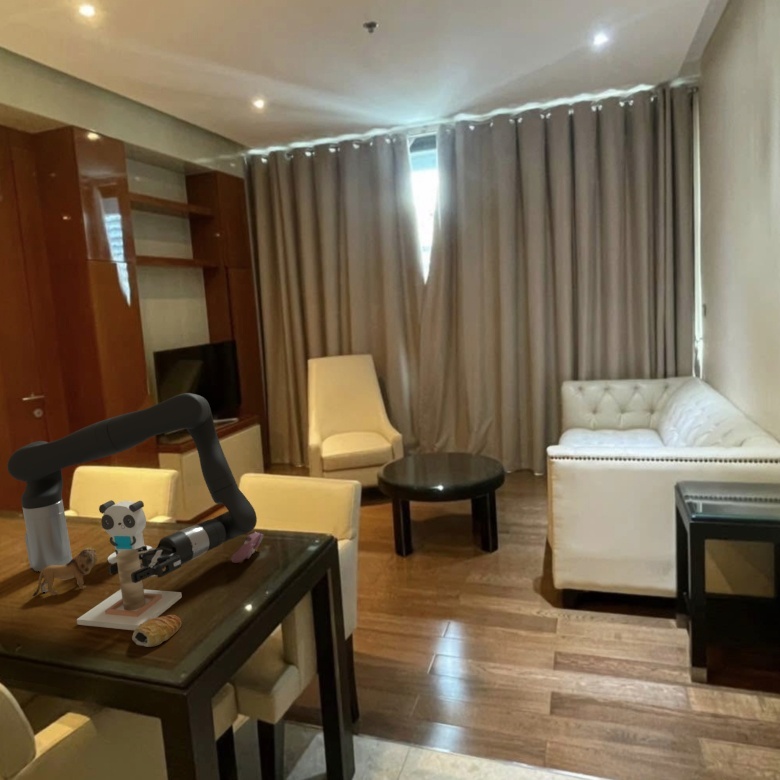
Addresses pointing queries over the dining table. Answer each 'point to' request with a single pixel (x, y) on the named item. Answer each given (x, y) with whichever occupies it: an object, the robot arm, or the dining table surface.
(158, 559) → the robot arm
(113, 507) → the panda figurine
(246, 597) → the dining table surface
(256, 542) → the video game controller
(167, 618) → the pastry
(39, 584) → the lion figurine
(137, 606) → the maple pin
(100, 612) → the board
